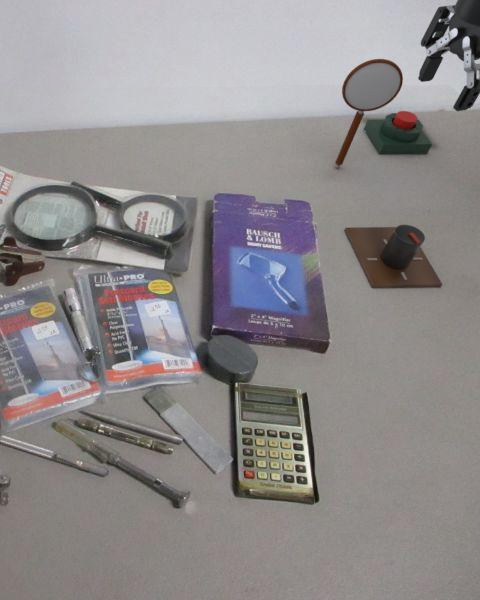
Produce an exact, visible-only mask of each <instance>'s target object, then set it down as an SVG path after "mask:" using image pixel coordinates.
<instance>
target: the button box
mask: <svg viewBox="0 0 480 600" xmlns="http://www.w3.org/2000/svg"><path fill="white" fill-rule="evenodd" d="M397 113H398V112H392V113H389V114H387V115H386V116H385V117H384V119H367V120H366V123H365V126H364V128H363V131H364V130H365V131H366V132H365V131H364V132H365V135H366V136H367V138H368V139H369V141H370V142H371V144H372V145H373V147H374V149H375V151H376V152H377V154H378V155H427V154H429V151H430V150H431V148H432V146H433V143H432V141H431V140H430V139H429V137H428V136H427V135H426V133H425V131H424V130H423V128H424V125H423V124H422V122H421V121H420V120H419V119H417V121H416V123H415V125H414V127H413V129H411V130H405V129H401V128H398V127H397V126H395V125H394V124H393V120H394V118H395V116H396V114H397Z"/></svg>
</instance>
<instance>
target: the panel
mask: <svg viewBox="0 0 480 600" xmlns="http://www.w3.org/2000/svg"><path fill="white" fill-rule="evenodd" d="M396 227H397V226H385V227H384V226H373V227H372V226H368V227H366V226H365V227H362V226H361V227H358V226H357V227H354V226H353V227H345V228H344V230H343V231H344V233H345V235H346V237H347V240H348V242H349V244H350V246H351V248H352V250H353V253H354V254H355V257H356V258H357V261H358V262H359V265H360V267H361V269H362V271H363V273H364V275H365V277H366V279H367V282H368V283H369V285H370V287H371V289H413V288H415V289H418V288H419V289H420V288H426V289H427V288H441V287H442V286H443V282H442V281H441V279H440V278H439V276H438V274H437V273H436V271H435V269H434V267H433V266H432V264H431V263H430V261H429V259H428V257H427V255H426V254H425V252H424V250H423V248H422V246H421V247H420V248H419V250H418V251H417V253H416V255H415V256H414V258H413V259H412V261H411V262H410V264H409V265H408V267H406V268H404V269H396V268H392V267H390V266H388V265H386V264H385V263H384V262H383V261H382V259H381V253H382V251H383V249H384V248H385V246H386V244H387V242H388V241H389V239H390V237H391V235H392V234H393V232H394V230H395V228H396Z"/></svg>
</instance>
